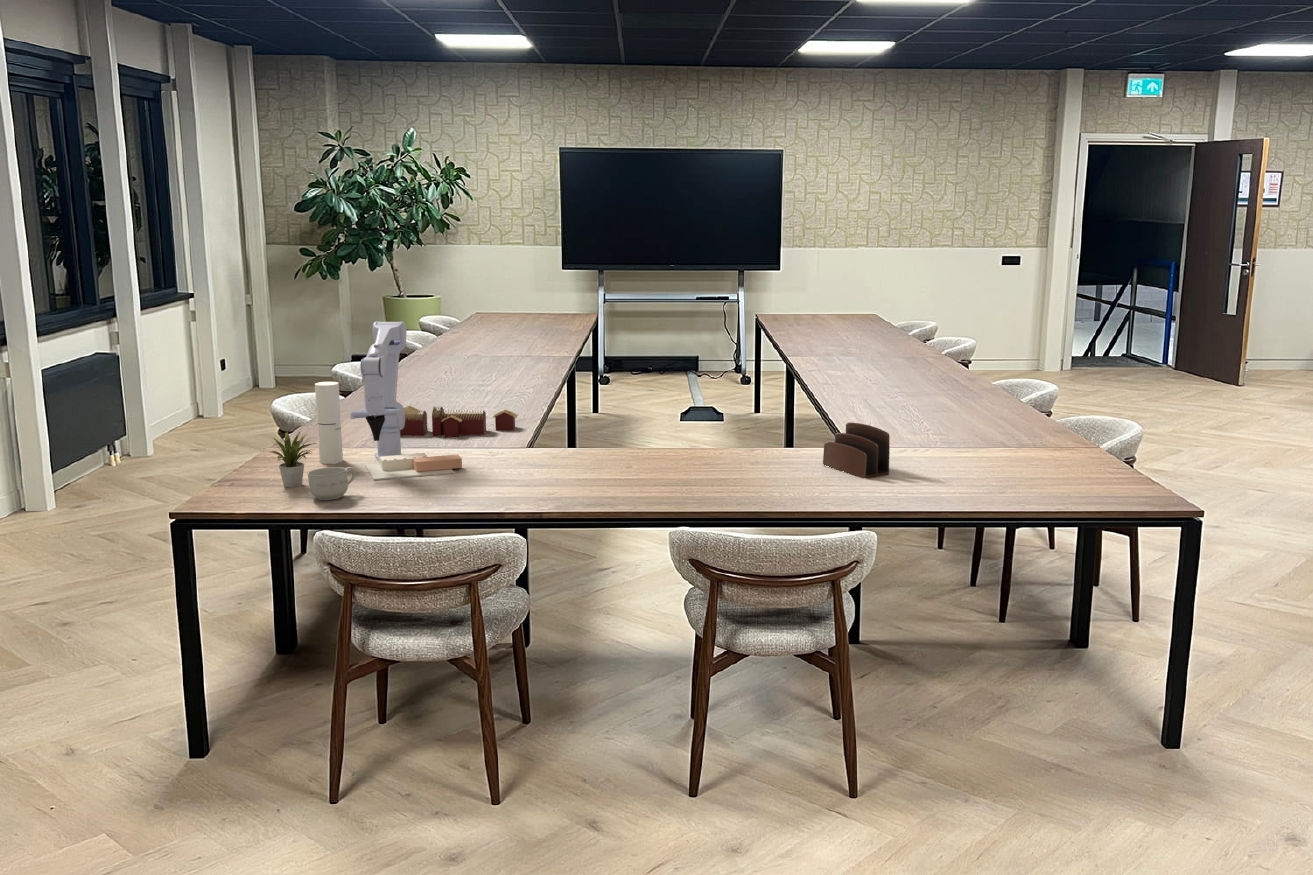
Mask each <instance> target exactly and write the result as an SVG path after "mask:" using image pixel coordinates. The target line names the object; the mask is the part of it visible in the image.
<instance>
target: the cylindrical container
mask: <svg viewBox="0 0 1313 875" xmlns="http://www.w3.org/2000/svg"><path fill="white" fill-rule="evenodd" d="M339 383H340V382H337V381H320V382H316V383H314V391H315V392H314V393H315V408H316V423H317V438H318V439H317V440H318V442H317V444H318V454H319V455H318V456H319V460H318V461H319V464H322V465H323V464H324V465H327V464H328V465H331V464H333V465H334V464H339V462H340V463H342V462H343V461H344V456H343V455H344V454H343V440H342V439H343V437H342V434H343V433H342V420H341V402H340V401H341V400H340V384H339Z"/></svg>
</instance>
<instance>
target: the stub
mask: <svg viewBox="0 0 1313 875" xmlns="http://www.w3.org/2000/svg"><path fill="white" fill-rule="evenodd" d="M413 468H414V469H415V471H416V472H419V471H431V470H442V469H452V470H453V469H462V468H463V458H462V457H461V456H460V455H459V454H457V453H456V454H446V455H435V456H428V457H420V458H413Z"/></svg>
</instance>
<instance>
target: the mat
mask: <svg viewBox="0 0 1313 875" xmlns="http://www.w3.org/2000/svg"><path fill="white" fill-rule="evenodd" d="M364 467H365V469H366V470H367V472H368V473H369V475H370V477H371V479H372V480H373V481H382V480H395V479H405V478H406V479H407V478H417V477H427V476H438V475H439V476H441V475H450V474H451V475H452V473H453V474H455V471H454V470H453V469H442V470H431V471H419V472H416V471H415V469H414V468H405V469H393V470H382V469H381V467H380V464H379V463H369V464H367V463H366V464H364Z"/></svg>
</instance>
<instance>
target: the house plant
mask: <svg viewBox="0 0 1313 875" xmlns="http://www.w3.org/2000/svg"><path fill="white" fill-rule="evenodd" d="M300 434H301V431H299V432H298V433H297V434H296V436H295V437H294V438H293V441H292V442H291V437H290V435H289V432H288V430H286V432H285V433H284V438H282V437H279V436H278V437H276V438H279V439H281V440H282V441H283V442H284V444H283V443H282V442H280V441H279V440H277V439H276V438H273V440H274V441H271V442H272V444H274V445H275V446H276V447H277V449H278V450H280V451H281V453H280V452H278V451H276V450H272V451H269V453H271V454H275V455H278V456H277V462H279V461H281V460H282V461H283V462H282V463H280V464H278V469H279V473H280V475H281V480H282V484H283V485H282V486H283V487H284V486H285V488H289V487H290V488H289V489H291V488H298V487H301V486H303V479H304V471H305V469H304V468H305V463H304V462H303V461H302V462H301V461H300V460H301V459H302V458H304V459H305V460H307V458H306V455H309V454H311V455H312V454H314V453H313V451H314V450H315V449H305V450H303V449H304V448H308V447H309V446H312V445H317V444H318V442H317V443H316V442H314V443H313V442H311V443H309V440H311V439H312V437H310V438H307V439H305V438H306V437H307V435H308V433H306V434H303V435H302V436H301V437H300V439H299V436H300ZM315 438H316V436H315V437H314V436H313V439H315ZM298 439H299V440H298ZM304 439H305V440H304ZM277 445H278V446H277ZM301 450H302V451H301ZM312 450H313V451H312Z"/></svg>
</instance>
